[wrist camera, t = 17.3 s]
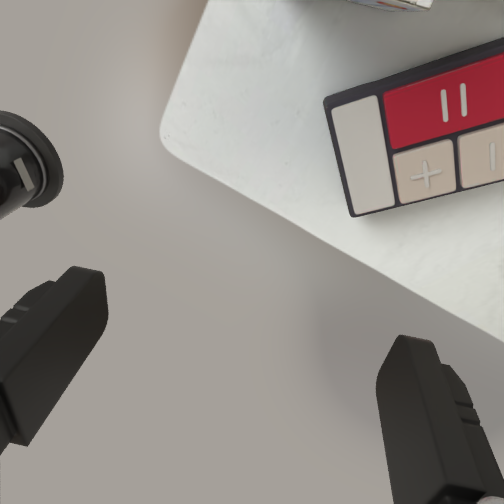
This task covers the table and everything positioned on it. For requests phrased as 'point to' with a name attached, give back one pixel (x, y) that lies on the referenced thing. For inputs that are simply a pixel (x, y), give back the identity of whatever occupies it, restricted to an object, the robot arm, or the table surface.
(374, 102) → the calculator
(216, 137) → the table surface
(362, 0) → the light bulb box
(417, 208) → the table surface
